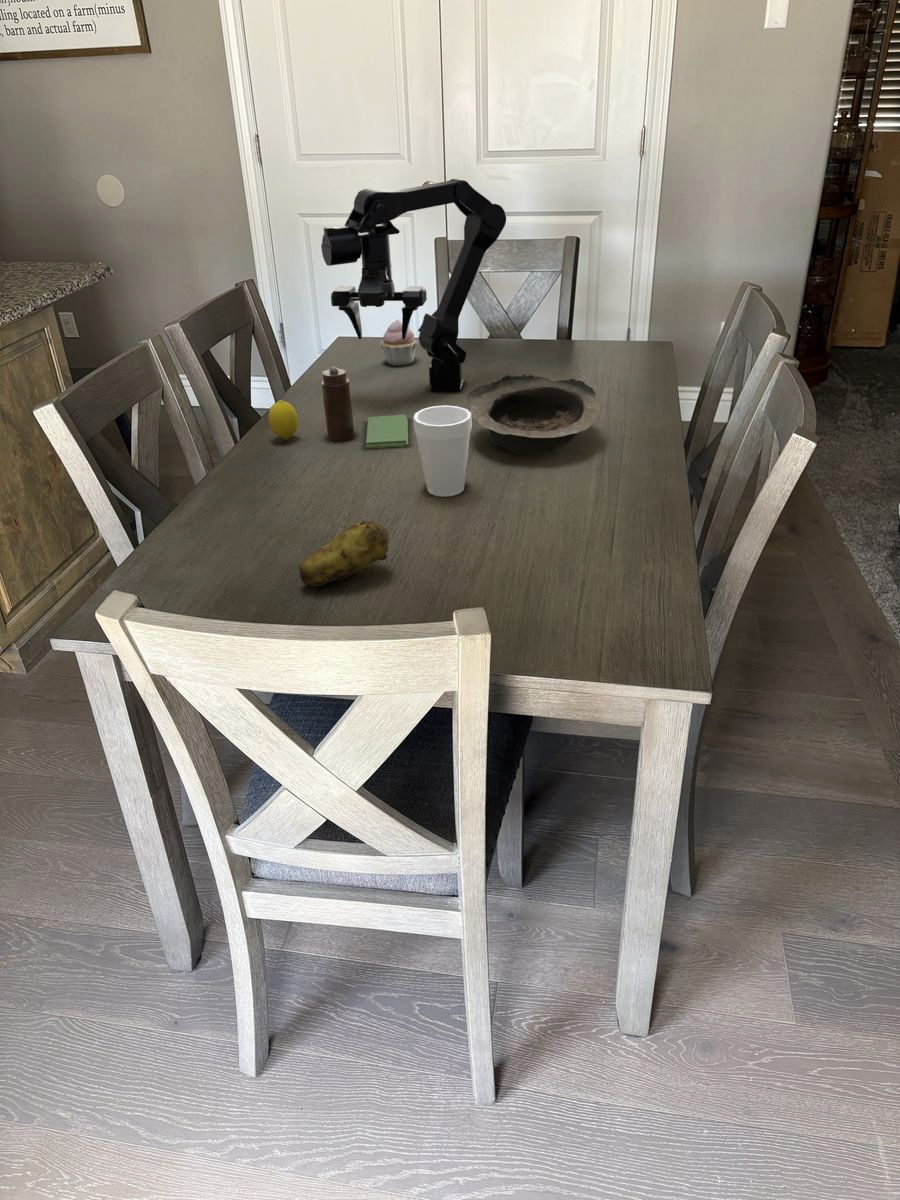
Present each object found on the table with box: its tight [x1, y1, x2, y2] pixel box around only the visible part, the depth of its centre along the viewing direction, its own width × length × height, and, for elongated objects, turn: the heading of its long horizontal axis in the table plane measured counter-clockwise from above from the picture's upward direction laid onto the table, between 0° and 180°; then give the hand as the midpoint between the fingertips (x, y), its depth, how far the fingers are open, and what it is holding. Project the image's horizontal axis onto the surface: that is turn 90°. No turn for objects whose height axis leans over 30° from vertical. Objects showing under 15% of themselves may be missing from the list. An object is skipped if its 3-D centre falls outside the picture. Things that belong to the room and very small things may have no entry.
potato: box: [298, 519, 390, 587], centre depth 122 cm, size 8×13×8 cm, turn 95°
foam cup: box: [412, 404, 473, 498], centre depth 144 cm, size 10×9×13 cm
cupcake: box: [379, 319, 419, 367], centre depth 206 cm, size 9×9×10 cm
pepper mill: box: [321, 366, 356, 442], centre depth 166 cm, size 5×5×14 cm
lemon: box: [268, 399, 299, 441], centre depth 167 cm, size 6×6×8 cm
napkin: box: [365, 414, 409, 450], centre depth 169 cm, size 8×14×1 cm, turn 3°
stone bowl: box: [465, 374, 602, 455], centre depth 162 cm, size 25×25×9 cm
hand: (382, 339), depth 180 cm, fingers open, 9 cm apart
